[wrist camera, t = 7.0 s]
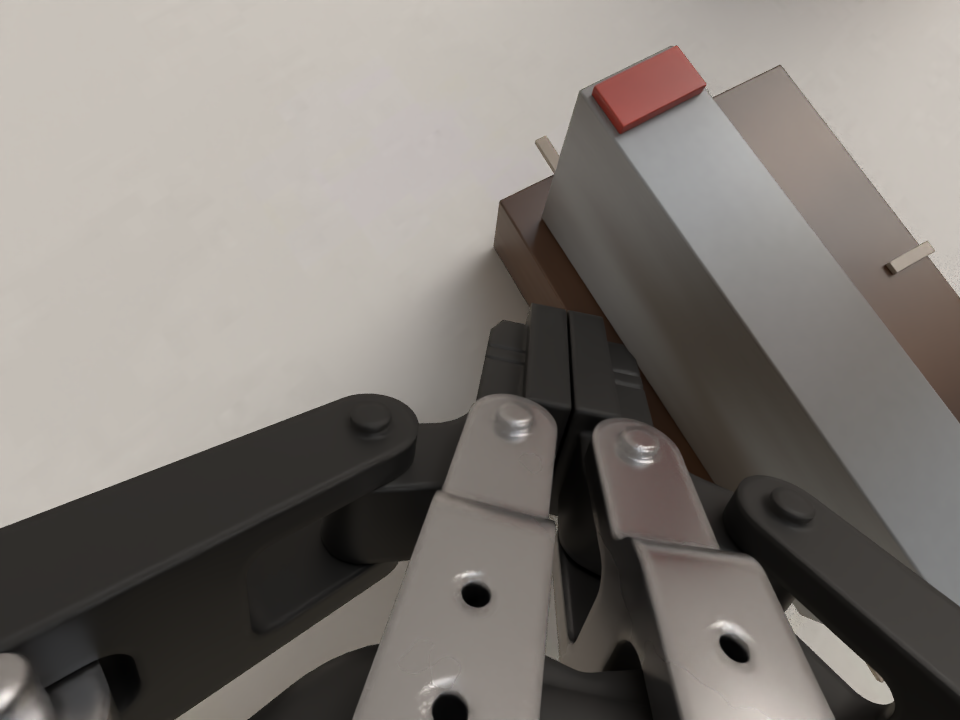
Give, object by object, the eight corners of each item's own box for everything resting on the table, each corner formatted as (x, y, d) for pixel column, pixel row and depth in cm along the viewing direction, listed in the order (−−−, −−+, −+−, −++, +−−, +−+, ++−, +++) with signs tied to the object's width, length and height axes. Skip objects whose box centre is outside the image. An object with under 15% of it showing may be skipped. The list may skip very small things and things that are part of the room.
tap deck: (1009, 501, 17) (1132, 506, 14) (567, 800, 15) (595, 885, 11) (718, 101, 20) (765, 31, 17) (312, 299, 17) (280, 260, 14)
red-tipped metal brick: (869, 566, 13) (1127, 619, 8) (799, 615, 13) (1022, 703, 8) (605, 182, 15) (677, 33, 10) (540, 217, 15) (580, 80, 10)
